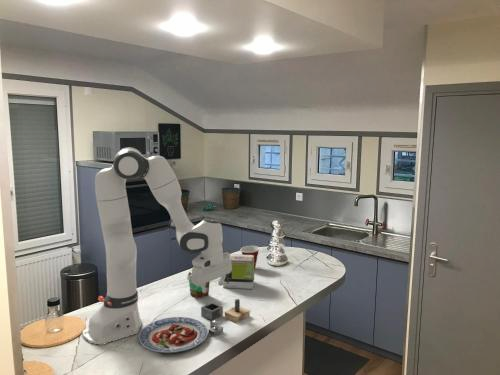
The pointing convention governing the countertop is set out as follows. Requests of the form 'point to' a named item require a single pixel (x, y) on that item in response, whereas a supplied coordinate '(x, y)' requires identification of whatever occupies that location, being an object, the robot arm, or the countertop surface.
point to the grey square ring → (212, 311)
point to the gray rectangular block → (211, 324)
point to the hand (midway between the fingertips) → (213, 288)
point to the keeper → (237, 312)
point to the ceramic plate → (173, 334)
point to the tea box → (240, 272)
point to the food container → (197, 288)
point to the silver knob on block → (215, 329)
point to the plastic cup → (251, 252)
